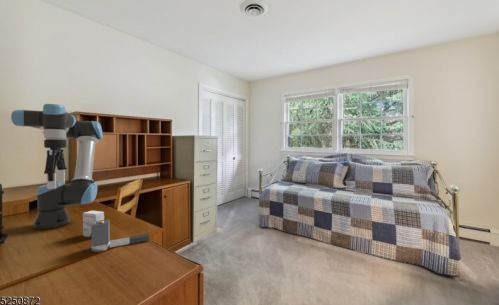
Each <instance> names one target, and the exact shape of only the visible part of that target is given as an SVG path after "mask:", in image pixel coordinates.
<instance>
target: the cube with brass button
mask: <svg viewBox="0 0 499 305" xmlns="http://www.w3.org/2000/svg"><path fill="white" fill-rule="evenodd" d="M110 228H111V227H110V219H109V218H108V219H104V220H100V221H93V224H92V226H91V231H92V237H91V248H92V247H94V246H99V245H105V244H109V240H111V235H110V234H111V233H110V232H111V231H110V230H111V229H110Z"/></svg>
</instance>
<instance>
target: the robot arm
mask: <svg viewBox="0 0 499 305" xmlns="http://www.w3.org/2000/svg"><path fill="white" fill-rule="evenodd" d="M10 115H11V116H10V118H11V119H10V120H11V123H12V124H13V125H14V126H16V127H23V128H24V127H27V128H28V127H29V128H34V129H38V130H41V131H42V132H41V133H42V134H43V138H44V140H43V147H44V148H46V149H47V150H46V161H45V169H44V171H43V174H44V175H46V184H44V185H40V186H39V187H37V191H36V199H37V200H36V201H37V202H36V203H37V214H36V218H35V219H34V223H33V229H35V230H48V229H56V228H59V227H62V226H65V225H68V224H69V223H70V222H71V220H70V216H69V213H68V212H67V208H66V206H72V205H86V204H91V203H93V202H94V201H95V199H96V197H97V194H98V184H97V183H96V182H95V180H94V179H93V172H94V163H95V154H96V145H97V144H99V142H100V140H102V139H103V138H104V137H103V136H104V135H103V129H102V125H101V123H100V122H99V121H93V120H91V121H90V120H76V117H75V116H74V115H73V114H71V113H70V112H67V111H66V106H64V105H62V104H57V103H45V104H43V107H42V110H28V109H16V110H15V109H14V110H13V111H12V112H11V114H10ZM66 139H73V140H74V139H76V141H77V142H78V148H77V156H76V163H75V170H74V176H73V177H74V178H72V179H71V180H70V183H69V184H66V182H65V181H66V180H65V178H66V176H65V170H67V166H66V160H65V156H64V155H65V154H64V149H65V148H67V140H66Z"/></svg>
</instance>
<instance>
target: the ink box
mask: <svg viewBox="0 0 499 305" xmlns="http://www.w3.org/2000/svg"><path fill="white" fill-rule="evenodd" d="M100 220H105V211H101V210H89V211H84V212H83V213H82V229H83V230H82V231H83V232H82V233H83V234H82V236H83V237H87V238H92V231H91V226H92V224H93V221H100Z"/></svg>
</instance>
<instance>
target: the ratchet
mask: <svg viewBox="0 0 499 305" xmlns="http://www.w3.org/2000/svg"><path fill="white" fill-rule="evenodd" d="M149 241H150V235H149V233H144V234H137V235H131V236H129V237H123V238H117V239H112V240H111V239H110V240H109V244H105V245H99V246H94V247H92V246H91V252H94V253H101V252H104V251H107V250H109V249H112V248H116V247H123V246H127V245H134V244H139V243H144V242H145V243H146V242H149Z"/></svg>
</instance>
